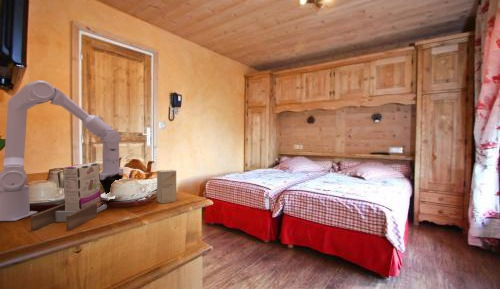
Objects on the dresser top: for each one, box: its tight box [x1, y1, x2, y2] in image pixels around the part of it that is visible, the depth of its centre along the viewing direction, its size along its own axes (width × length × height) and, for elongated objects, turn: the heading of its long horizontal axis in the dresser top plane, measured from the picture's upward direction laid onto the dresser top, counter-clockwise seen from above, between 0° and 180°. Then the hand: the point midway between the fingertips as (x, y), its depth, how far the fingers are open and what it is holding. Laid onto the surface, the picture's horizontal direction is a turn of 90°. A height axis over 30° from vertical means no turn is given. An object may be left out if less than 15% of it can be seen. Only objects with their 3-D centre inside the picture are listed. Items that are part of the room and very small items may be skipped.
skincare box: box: [156, 169, 177, 204], centre depth 94 cm, size 6×4×12 cm
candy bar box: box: [62, 162, 102, 211], centre depth 78 cm, size 11×5×16 cm, turn 3°
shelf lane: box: [30, 203, 98, 232], centre depth 72 cm, size 11×12×4 cm
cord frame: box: [55, 204, 108, 223], centre depth 84 cm, size 7×25×5 cm, turn 1°
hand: (111, 194), depth 95 cm, fingers closed on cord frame, 3 cm apart
